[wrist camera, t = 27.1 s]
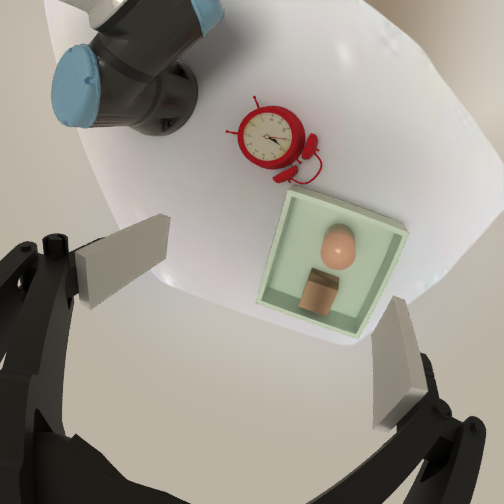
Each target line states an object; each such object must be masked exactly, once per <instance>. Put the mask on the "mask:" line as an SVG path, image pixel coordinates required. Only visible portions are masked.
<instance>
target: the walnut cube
mask: <svg viewBox="0 0 504 504" xmlns="http://www.w3.org/2000/svg"><path fill="white" fill-rule="evenodd" d="M338 289H339V277H337V276H334V275H332V274H329V273H326V272H323V271H320V270H317V269H315V268H312V269H311V272H310V275H309V277H308V280H307V283H306V285H305V288H304V291H303V294H302V297H301V300H300V303H299V307H302V308H305V309H307V310H310V311H313V312H316V313H319V314H322V315H324V316H327V315H328V313H329V311H330V309H331V306H332V304H333V302H334V300H335V297H336V295H337V293H338Z"/></svg>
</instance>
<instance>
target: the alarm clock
mask: <svg viewBox="0 0 504 504" xmlns="http://www.w3.org/2000/svg"><path fill="white" fill-rule="evenodd" d="M253 98H254V99H255V102H256V105H257V108H258V109H256V110H254V111H252V112H250V113H249V114H248V115H247V116H246V117H245V118H244V119H243V121H242V122H241V124H240V126H239V130H238V133H237V132H230V131H228V130H226V133H233V134H238V144H239V147H240V149H241V151H242V153H243V154H244V156H245V157H246V158H247V159H248V160H250V161H251V162H252V163H254V164H256V165H258V166H260V167H262V168H266V169H280V168H284V167H286V166H288V165H290V164H292V163H293V162H294V161H295V160H297V161H298V162H299V164H301V163H302V162H301V161H299V160H298V159H297V158H298V157H299V156H300V154H301V153H302V151H303V153H302V158H303V159H310V158H311V157H312V155H313V154H315V155H316V157H317V158H318V159H319V161H320V164H321V166H320V169H319V171H318V173H317V174H316V175H315V177H314V178H313V179H311V180H310V181H308V182H306V183H301V182H298V181H296V180H294V179H293V178H292V177H293V176H295V175H296V174H297V172H298V168H297V166H296V165H295V166H293V167H291V168H289V169H287V170H285V171H283V172H282V173H280V174H278V175H276V176H275V177H273V180H274V181H275V182H276V183H281V182H284V181H287V180H288V182H289V183H291V181H290V180H293V181H295V182H297V183H299V184H308V183H310V182H311V181H313V180H314V179H315V178H316V177H317V176H318V174H319V173H320V171H321V169H322V161H321V159H320V158H319V156H318V155H317V154H316V153H315V150H317V151H319V149H317V148H316V147H317V142H318V139H317V136H316V135H315V134H312V133H311V134H310V135H309V137H308V139H307V142H306V144H305V132H304V128H303V125H302V123H301V121H300V120H299V119H298V117H297V116H296V115H295V114H294V113H292V112H291V111H289V110H287V109H285V108H283V107H279V106H267V107H262V108H260V107H259V105H258V103H257V101H256V96H253ZM304 144H305V147H304ZM303 148H304V150H303ZM291 166H292V165H291Z"/></svg>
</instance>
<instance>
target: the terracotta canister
mask: <svg viewBox="0 0 504 504" xmlns="http://www.w3.org/2000/svg"><path fill="white" fill-rule="evenodd" d="M355 257H356V247H355V237H354V233H353V231H352V230H351V228H350V227H348V226H347V225H345V224H339V223H338V224H334V225H332V226H330V227H329V228H328V229H327V230H326V232H325V235H324V239H323V243H322V247H321V259H322V261H323V263H324V264H325V265H326V266H327V267H329V268H330V269H333V270H344V269H346V268H348V267H350V266H351V265H352V264H353V262H354V260H355Z"/></svg>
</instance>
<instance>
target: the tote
mask: <svg viewBox="0 0 504 504" xmlns="http://www.w3.org/2000/svg"><path fill="white" fill-rule="evenodd" d="M338 223H339V224H345V225H347V226H348V227H350V228H351V230H352V231H353V233H354V237H355V247H356V257H355V260H354V262H353V264H352V265H351V266H350V267H348V268H346V269H344V270H333V269H330V268H329V267H327V266H326V265H325V264H324V263H323V261H322V259H321V247H322V243H323V239H324V235H325V232H326V230H327V229H328V228H329V227H330V226H332V225H334V224H338ZM408 235H409V232H408V230H407V229H406V228H405V226H404V225H403V224H402V223H400V222H398V221H395V220H393V219H390V218H388V217H385V216H383V215H380V214H378V213H375V212H372V211H370V210H367V209H364V208H362V207H359V206H356V205H353V204H351V203H348V202H345V201H342V200H339V199H336V198H333V197H330V196H328V195H325V194H322V193H319V192H316V191H313V190H309V189H306V188H303V187H300V186H297V185H293V186H292V187H290V188H289V189H288V190H287V194H286V198H285V201H284V205H283V208H282V212H281V216H280V219H279V223H278V226H277V230H276V233H275V237H274V240H273V244H272V247H271V251H270V254H269V258H268V261H267V265H266V268H265V272H264V275H263V279H262V282H261V286H260V289H259V292H258V296H257V299H256V303H257V304H260V305H263V306H265V307H268V308H271V309H273V310H276V311H279V312H281V313H284V314H287V315H290V316H292V317H295V318H298V319H301V320H304V321H306V322H309V323H312V324H315V325H318V326H321V327H323V328H326V329H329V330H332V331H335V332H338V333H341V334H344V335H347V336H350V337H353V338H356V339H359V337H360V335H361V333H362V332H363V330H364V328H365V326H366V324H367V322H368V321H369V319H370V317H371V315H372V313H373V311H374V309H375V307H376V305H377V303H378V302H379V300H380V298H381V296H382V294H383V292H384V289H385V287H386V285H387V283H388V281H389V279H390V277H391V275H392V273H393V270H394V268H395V266H396V264H397V261H398V259H399V257H400V255H401V252H402V250H403V248H404V245H405V243H406V240H407V238H408ZM312 268H315V269H317V270H320V271H323V272H326V273H329V274H332V275H334V276H337V277H339V289H338V293H337V295H336V297H335V300H334V302H333V304H332V306H331V309H330V311H329V313H328V315H327V316H324V315H322V314H319V313H316V312H313V311H310V310H307V309H305V308H302V307H299V303H300V300H301V297H302V294H303V291H304V288H305V285H306V283H307V280H308V277H309V275H310V272H311V269H312Z"/></svg>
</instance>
